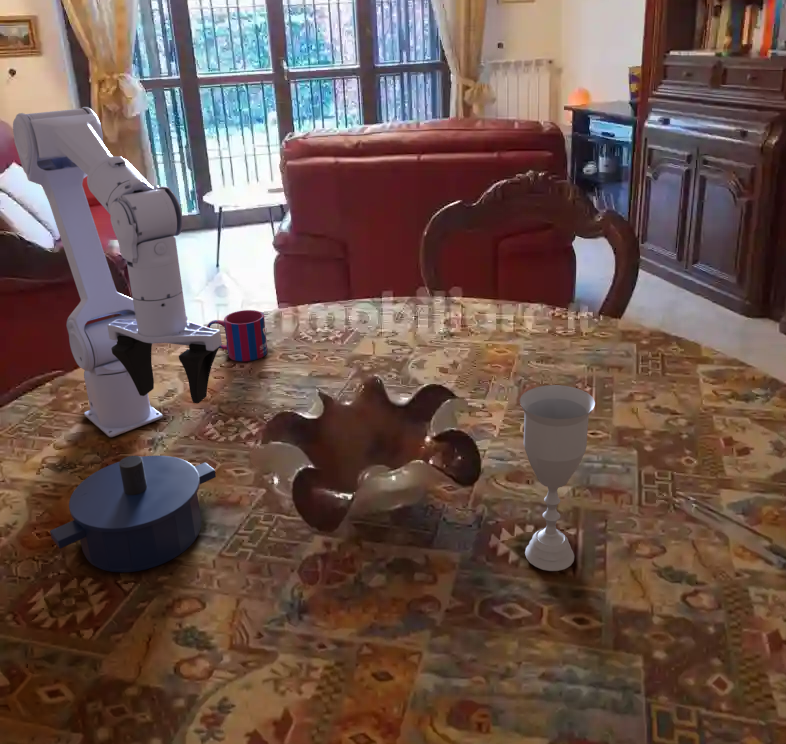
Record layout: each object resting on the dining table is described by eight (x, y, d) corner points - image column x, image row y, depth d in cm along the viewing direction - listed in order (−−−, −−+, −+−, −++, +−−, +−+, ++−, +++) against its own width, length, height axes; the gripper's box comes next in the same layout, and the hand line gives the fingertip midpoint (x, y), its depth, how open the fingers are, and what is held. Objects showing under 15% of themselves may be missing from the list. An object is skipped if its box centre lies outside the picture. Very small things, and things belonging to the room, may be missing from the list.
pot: (41, 545, 83) (31, 503, 81) (188, 478, 94) (183, 441, 92) (85, 604, 74) (76, 559, 72) (242, 522, 85) (237, 482, 83)
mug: (261, 362, 126) (257, 324, 124) (204, 361, 127) (199, 324, 125) (272, 346, 132) (268, 310, 130) (217, 345, 133) (212, 309, 131)
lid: (70, 480, 86) (62, 445, 84) (191, 453, 91) (186, 419, 89) (71, 551, 74) (62, 512, 72) (209, 515, 79) (204, 478, 77)
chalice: (541, 586, 74) (549, 426, 68) (501, 547, 80) (505, 396, 73) (598, 561, 77) (611, 406, 71) (556, 525, 83) (564, 379, 77)
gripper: (229, 286, 89) (240, 388, 94) (126, 277, 94) (142, 375, 98) (197, 306, 83) (211, 414, 88) (89, 296, 87) (108, 400, 92)
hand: (173, 395), depth 93 cm, fingers open, 7 cm apart
